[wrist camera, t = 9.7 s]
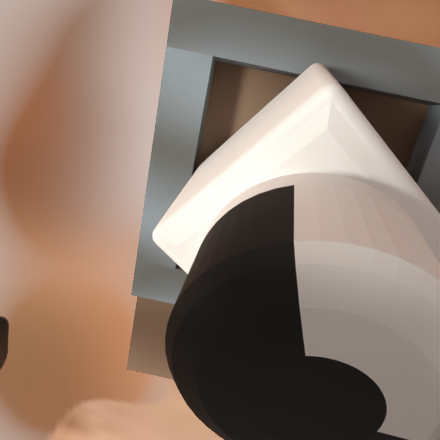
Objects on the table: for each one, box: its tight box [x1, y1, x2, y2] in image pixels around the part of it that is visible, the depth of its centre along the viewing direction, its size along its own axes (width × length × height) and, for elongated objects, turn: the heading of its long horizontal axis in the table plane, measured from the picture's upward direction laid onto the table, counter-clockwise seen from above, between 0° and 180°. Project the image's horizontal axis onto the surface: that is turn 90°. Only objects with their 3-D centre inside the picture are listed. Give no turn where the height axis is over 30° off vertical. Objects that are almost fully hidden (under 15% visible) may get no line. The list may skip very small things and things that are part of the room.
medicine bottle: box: [152, 63, 440, 440], centre depth 12 cm, size 7×7×12 cm
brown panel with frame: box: [127, 0, 440, 379], centre depth 19 cm, size 20×14×2 cm
